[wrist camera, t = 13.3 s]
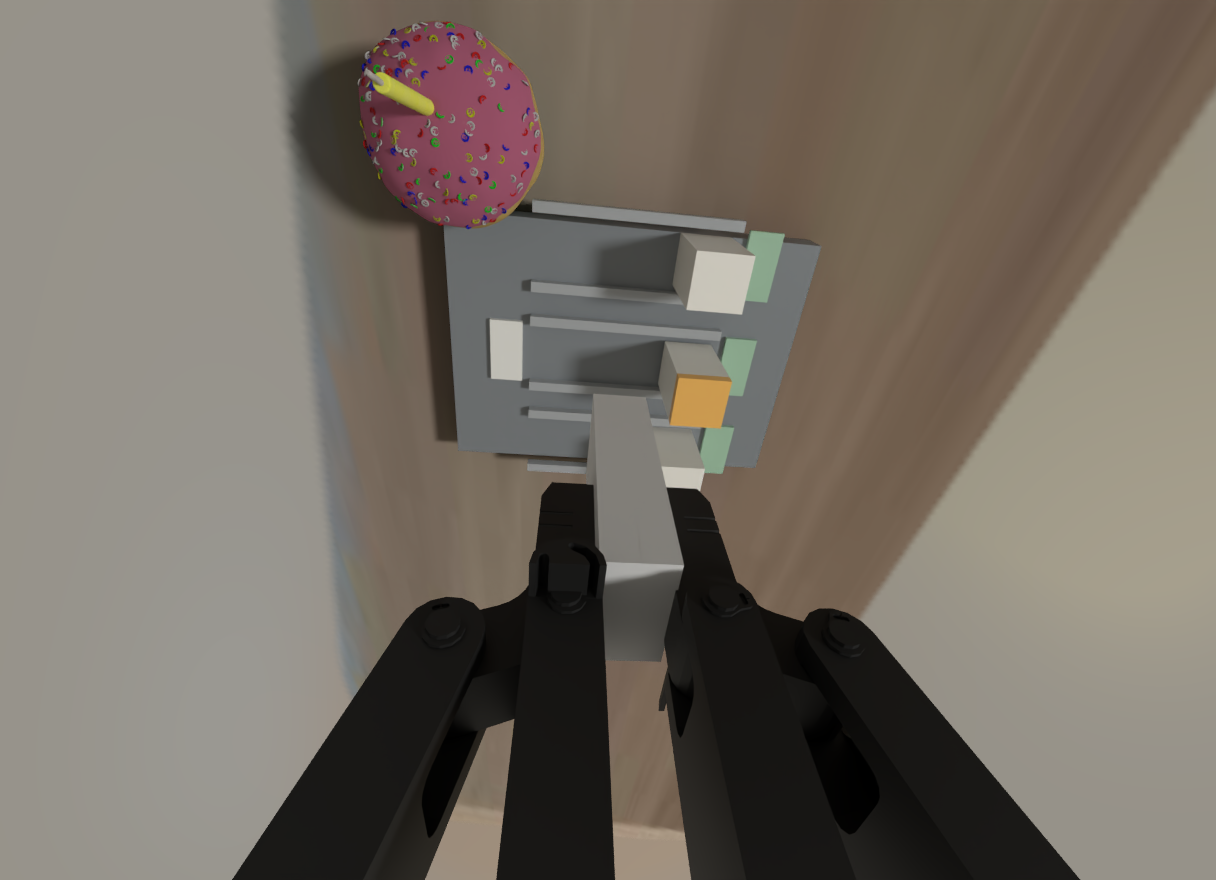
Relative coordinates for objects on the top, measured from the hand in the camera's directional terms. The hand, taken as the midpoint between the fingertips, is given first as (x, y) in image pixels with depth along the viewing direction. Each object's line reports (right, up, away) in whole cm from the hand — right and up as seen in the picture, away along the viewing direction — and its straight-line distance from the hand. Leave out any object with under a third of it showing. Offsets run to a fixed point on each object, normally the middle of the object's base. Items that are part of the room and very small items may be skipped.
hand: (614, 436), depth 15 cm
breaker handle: (+5, +5, +18) cm, 20 cm away
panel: (+1, +6, +20) cm, 21 cm away
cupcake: (-8, +17, +13) cm, 23 cm away
